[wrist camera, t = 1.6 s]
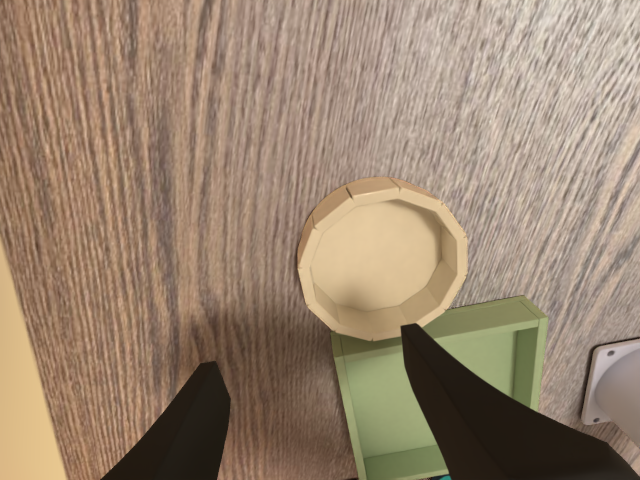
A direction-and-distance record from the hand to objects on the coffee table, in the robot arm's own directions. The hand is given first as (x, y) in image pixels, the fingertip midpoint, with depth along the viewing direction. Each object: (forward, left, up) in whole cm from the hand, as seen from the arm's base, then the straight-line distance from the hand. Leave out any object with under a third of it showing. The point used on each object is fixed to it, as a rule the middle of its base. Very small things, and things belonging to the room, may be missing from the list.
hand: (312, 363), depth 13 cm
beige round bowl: (-4, 0, -8) cm, 9 cm away
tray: (-7, +12, -8) cm, 16 cm away
